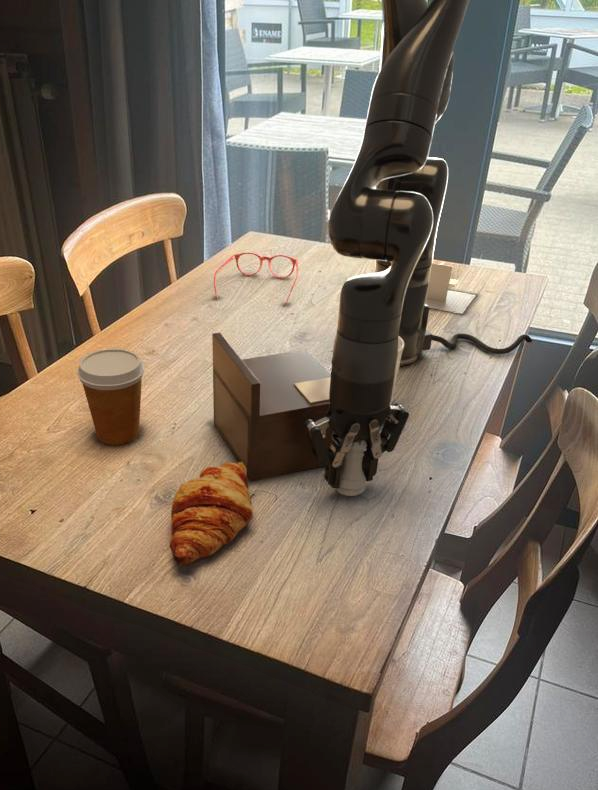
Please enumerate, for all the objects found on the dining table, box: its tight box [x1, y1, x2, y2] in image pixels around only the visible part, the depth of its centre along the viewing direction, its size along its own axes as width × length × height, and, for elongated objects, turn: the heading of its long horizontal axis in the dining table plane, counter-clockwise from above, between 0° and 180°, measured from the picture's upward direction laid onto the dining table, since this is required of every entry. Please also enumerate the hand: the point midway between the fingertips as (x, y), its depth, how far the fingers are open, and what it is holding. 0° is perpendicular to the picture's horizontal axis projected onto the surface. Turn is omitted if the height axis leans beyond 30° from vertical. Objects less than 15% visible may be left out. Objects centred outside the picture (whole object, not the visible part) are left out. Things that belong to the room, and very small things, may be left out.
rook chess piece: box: [335, 440, 367, 497], centre depth 94 cm, size 4×4×8 cm
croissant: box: [169, 462, 254, 565], centre depth 91 cm, size 21×10×8 cm, turn 162°
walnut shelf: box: [211, 332, 343, 482], centre depth 103 cm, size 15×16×15 cm
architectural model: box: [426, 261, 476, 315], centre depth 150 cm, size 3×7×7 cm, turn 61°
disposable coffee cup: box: [76, 347, 146, 446], centre depth 105 cm, size 10×10×12 cm
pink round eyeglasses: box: [213, 252, 299, 305], centre depth 155 cm, size 17×16×5 cm
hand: (350, 480), depth 96 cm, fingers closed on rook chess piece, 4 cm apart
